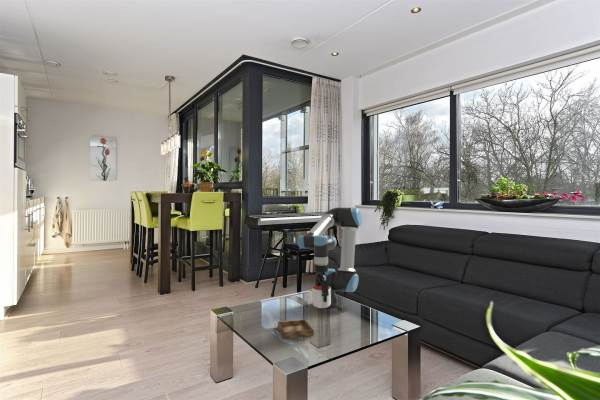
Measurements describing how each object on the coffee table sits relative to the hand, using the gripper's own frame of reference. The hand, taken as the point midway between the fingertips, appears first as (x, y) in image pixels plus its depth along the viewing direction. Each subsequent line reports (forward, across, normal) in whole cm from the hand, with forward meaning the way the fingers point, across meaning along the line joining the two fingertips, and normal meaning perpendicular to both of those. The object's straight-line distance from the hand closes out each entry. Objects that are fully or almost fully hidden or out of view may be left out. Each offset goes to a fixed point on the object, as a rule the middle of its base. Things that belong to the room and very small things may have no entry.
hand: (321, 304), depth 194 cm
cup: (+1, 0, 0) cm, 1 cm away
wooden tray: (+13, 0, -15) cm, 20 cm away
